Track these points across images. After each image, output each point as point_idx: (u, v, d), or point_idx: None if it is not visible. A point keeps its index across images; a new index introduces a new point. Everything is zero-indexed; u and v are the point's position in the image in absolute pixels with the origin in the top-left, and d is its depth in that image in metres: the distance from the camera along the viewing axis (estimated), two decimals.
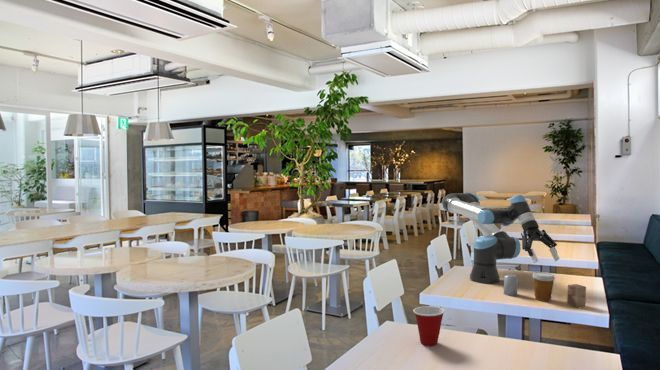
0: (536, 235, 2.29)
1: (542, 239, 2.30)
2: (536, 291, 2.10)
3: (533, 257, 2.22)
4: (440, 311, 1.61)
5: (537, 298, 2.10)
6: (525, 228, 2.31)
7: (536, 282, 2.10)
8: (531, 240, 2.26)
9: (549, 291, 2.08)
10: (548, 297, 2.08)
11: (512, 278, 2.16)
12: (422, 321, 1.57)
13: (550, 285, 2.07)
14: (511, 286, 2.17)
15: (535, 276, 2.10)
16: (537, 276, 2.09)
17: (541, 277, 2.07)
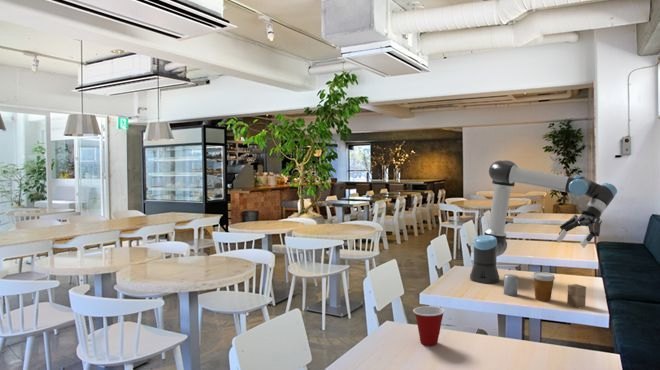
0: None
1: (576, 225, 2.21)
2: (536, 291, 2.10)
3: (585, 242, 2.09)
4: (440, 311, 1.61)
5: (537, 298, 2.10)
6: (597, 216, 2.16)
7: (536, 282, 2.10)
8: None
9: (549, 291, 2.08)
10: (548, 297, 2.08)
11: (512, 278, 2.16)
12: (422, 321, 1.57)
13: (550, 285, 2.07)
14: (511, 286, 2.17)
15: (535, 276, 2.10)
16: (537, 276, 2.09)
17: (541, 277, 2.07)
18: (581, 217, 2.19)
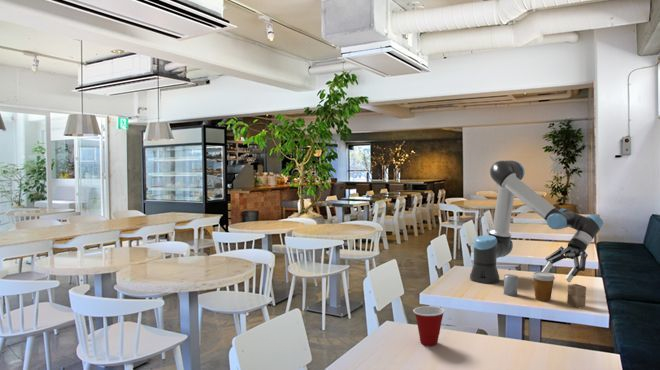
0: None
1: (562, 257, 2.17)
2: (536, 291, 2.10)
3: (571, 276, 2.06)
4: (440, 311, 1.61)
5: (537, 298, 2.10)
6: (583, 249, 2.12)
7: (536, 282, 2.10)
8: None
9: (549, 291, 2.08)
10: (548, 297, 2.08)
11: (512, 278, 2.16)
12: (422, 321, 1.57)
13: (550, 285, 2.07)
14: (511, 286, 2.17)
15: (535, 276, 2.10)
16: (537, 276, 2.09)
17: (541, 277, 2.07)
18: (567, 250, 2.16)
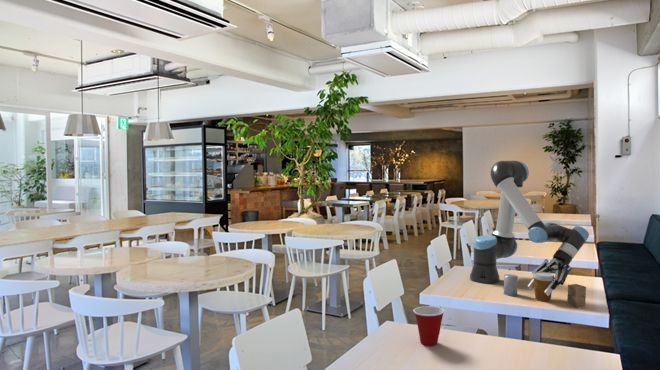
0: None
1: (548, 270, 2.15)
2: (536, 291, 2.10)
3: (550, 290, 2.06)
4: (440, 311, 1.61)
5: (537, 298, 2.10)
6: (568, 261, 2.11)
7: (536, 282, 2.10)
8: None
9: None
10: (548, 297, 2.08)
11: (512, 278, 2.16)
12: (422, 321, 1.57)
13: None
14: (511, 286, 2.17)
15: (535, 276, 2.10)
16: (537, 276, 2.09)
17: (541, 277, 2.07)
18: (552, 261, 2.14)
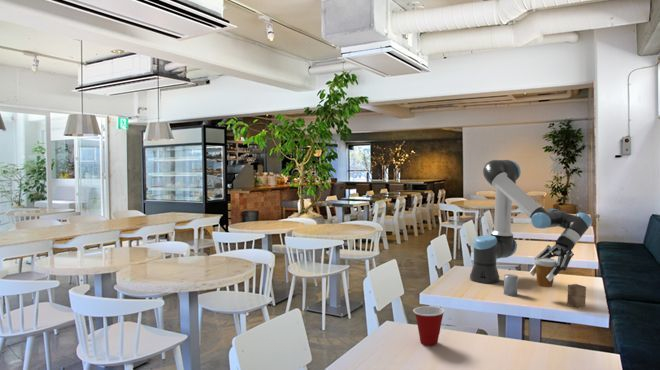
0: None
1: (550, 256, 2.15)
2: (538, 277, 2.10)
3: (552, 275, 2.05)
4: (440, 311, 1.61)
5: (539, 284, 2.10)
6: (570, 247, 2.10)
7: (538, 268, 2.09)
8: None
9: None
10: (550, 283, 2.08)
11: (512, 278, 2.16)
12: (422, 321, 1.57)
13: None
14: (511, 286, 2.17)
15: (537, 262, 2.09)
16: (539, 262, 2.08)
17: (543, 263, 2.07)
18: (554, 247, 2.14)
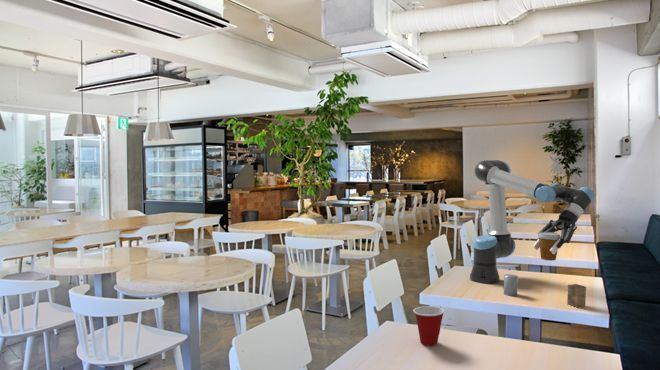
0: None
1: (554, 230, 2.15)
2: (542, 250, 2.10)
3: (555, 248, 2.06)
4: (440, 311, 1.61)
5: (542, 257, 2.10)
6: (573, 220, 2.11)
7: (542, 241, 2.10)
8: None
9: None
10: (554, 256, 2.08)
11: (512, 278, 2.16)
12: (422, 321, 1.57)
13: None
14: (511, 286, 2.17)
15: (541, 235, 2.10)
16: (543, 235, 2.09)
17: (547, 236, 2.07)
18: (557, 221, 2.14)
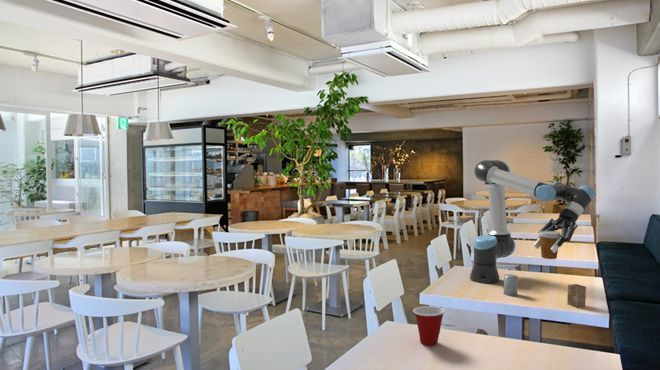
0: None
1: (554, 229, 2.15)
2: (542, 249, 2.10)
3: (556, 247, 2.06)
4: (440, 311, 1.61)
5: (543, 256, 2.10)
6: (574, 219, 2.11)
7: (542, 240, 2.10)
8: None
9: None
10: (554, 255, 2.08)
11: (512, 278, 2.16)
12: (422, 321, 1.57)
13: None
14: (511, 286, 2.17)
15: (541, 234, 2.10)
16: (543, 234, 2.09)
17: (547, 234, 2.07)
18: (558, 220, 2.14)
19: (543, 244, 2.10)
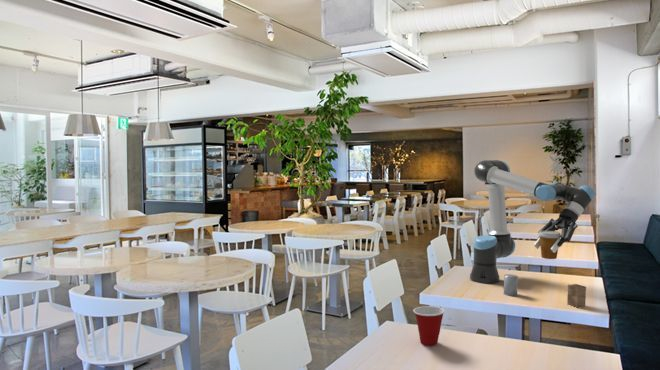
0: None
1: (554, 229, 2.15)
2: (542, 249, 2.10)
3: (556, 247, 2.06)
4: (440, 311, 1.61)
5: (543, 256, 2.10)
6: (574, 219, 2.11)
7: (542, 240, 2.10)
8: None
9: None
10: (554, 255, 2.08)
11: (512, 278, 2.16)
12: (422, 321, 1.57)
13: None
14: (511, 286, 2.17)
15: (541, 234, 2.10)
16: (543, 234, 2.09)
17: (547, 234, 2.07)
18: (558, 220, 2.14)
19: (543, 244, 2.10)
